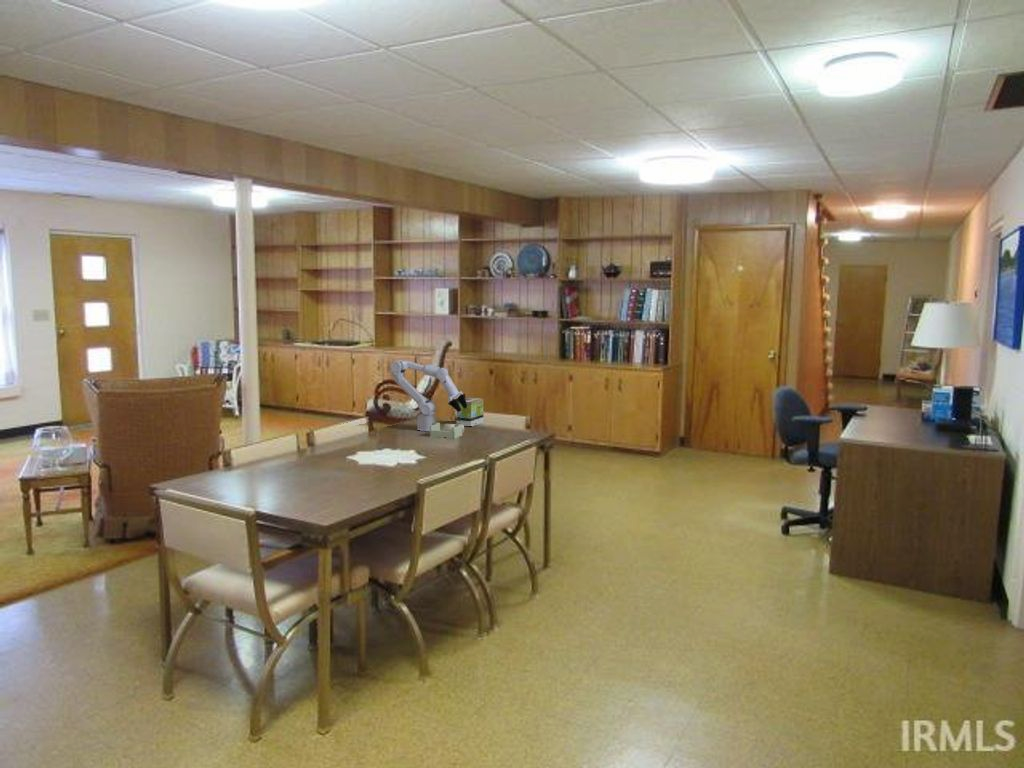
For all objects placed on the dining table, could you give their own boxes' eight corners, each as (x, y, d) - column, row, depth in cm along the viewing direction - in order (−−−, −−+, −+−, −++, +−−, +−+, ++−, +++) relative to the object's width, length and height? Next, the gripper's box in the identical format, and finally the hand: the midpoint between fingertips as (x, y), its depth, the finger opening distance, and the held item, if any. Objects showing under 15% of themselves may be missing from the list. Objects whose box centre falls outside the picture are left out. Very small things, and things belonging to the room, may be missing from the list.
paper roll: (443, 433, 393) (443, 423, 393) (447, 432, 397) (447, 423, 397) (460, 434, 388) (460, 425, 388) (464, 433, 393) (464, 424, 393)
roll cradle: (429, 436, 384) (429, 424, 383) (438, 433, 392) (437, 421, 391) (454, 438, 378) (454, 426, 377) (462, 435, 386) (462, 423, 385)
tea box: (471, 427, 408) (471, 401, 406) (456, 426, 413) (455, 400, 411) (484, 423, 422) (483, 397, 420) (469, 421, 426) (468, 396, 424)
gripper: (449, 387, 388) (462, 409, 388) (461, 381, 401) (474, 402, 401) (440, 393, 391) (452, 415, 391) (452, 387, 404) (464, 408, 404)
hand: (462, 409), depth 396 cm, fingers open, 7 cm apart
